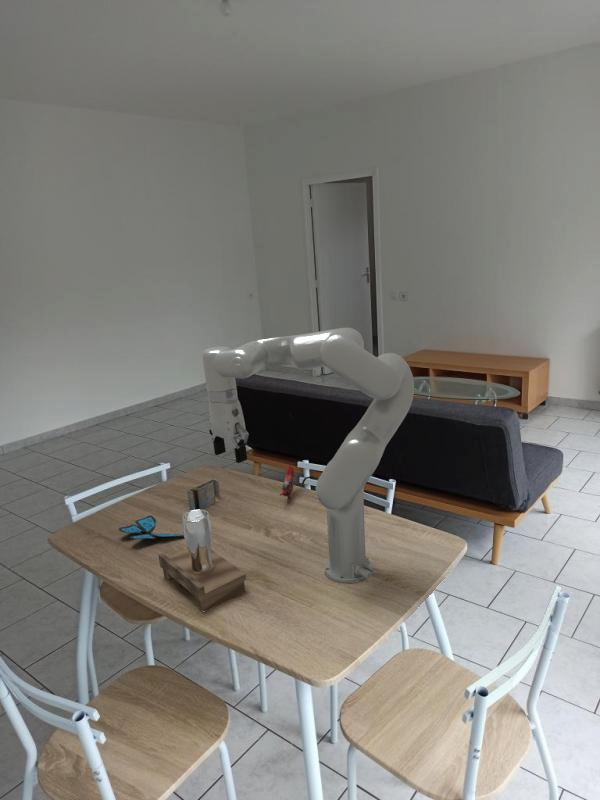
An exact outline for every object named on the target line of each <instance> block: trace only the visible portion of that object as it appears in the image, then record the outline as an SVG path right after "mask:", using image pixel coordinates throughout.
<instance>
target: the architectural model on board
mask: <svg viewBox="0 0 600 800" xmlns="http://www.w3.org/2000/svg"><path fill="white" fill-rule="evenodd" d="M219 482H220V481H219V480H218V479H215V478H213V479H210V480H208V481H205V482H203V483H201V484H198V483H197V484H196V485H194V486H191V487H188V488H187V489H188V490H187V497H188V498H187V499H188V505H189V506H188V507H189V511H192V510H196V509H201V510H204V509H205V508H207V507H210V505H213V504H215V503H217V502H219V501H221V500H222V499H221V491H220V483H219Z"/></svg>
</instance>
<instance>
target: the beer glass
mask: <svg viewBox="0 0 600 800" xmlns="http://www.w3.org/2000/svg"><path fill="white" fill-rule="evenodd" d="M181 517H182V530H183V532H182V533H183V535H184V536H183V537H184V541H185V544H186V548H187V549H188V551H189V554H190V560H191V563H190V570H191V572H192V573H194V574H205V573H208V572H210V571H211V570H212V569H213V568H214V563H213V560H212V557H211V550H212V538H213V537H212V536H213V535H212V533H213V532H212V523H211V520H210V515H209V512H208V510H205V509H199V508H197V509H195V510H192V511H190V510H189V511H187V512H185V513H184V514H182V516H181Z"/></svg>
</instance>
